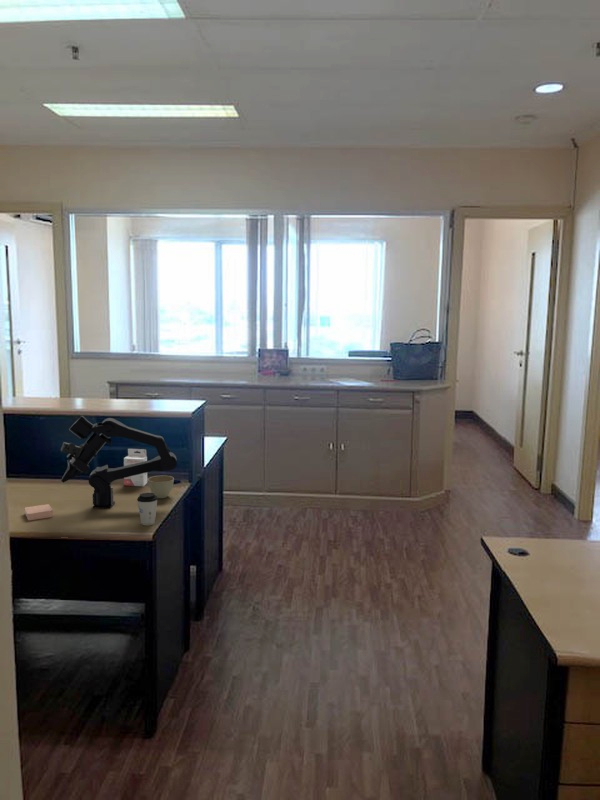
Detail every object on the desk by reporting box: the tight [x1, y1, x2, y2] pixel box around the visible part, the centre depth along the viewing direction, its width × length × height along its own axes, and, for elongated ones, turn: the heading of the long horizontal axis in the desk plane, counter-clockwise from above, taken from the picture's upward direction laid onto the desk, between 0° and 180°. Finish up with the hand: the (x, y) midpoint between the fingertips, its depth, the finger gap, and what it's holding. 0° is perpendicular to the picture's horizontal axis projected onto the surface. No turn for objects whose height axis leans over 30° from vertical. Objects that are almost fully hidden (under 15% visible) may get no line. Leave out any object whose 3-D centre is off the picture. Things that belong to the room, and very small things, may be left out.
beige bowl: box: [147, 475, 175, 499], centre depth 237 cm, size 10×10×7 cm
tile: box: [24, 503, 54, 521], centre depth 214 cm, size 3×8×8 cm
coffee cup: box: [136, 492, 159, 526], centre depth 207 cm, size 7×7×10 cm
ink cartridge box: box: [123, 448, 148, 487], centre depth 253 cm, size 9×5×15 cm, turn 84°
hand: (62, 481), depth 217 cm, fingers closed
